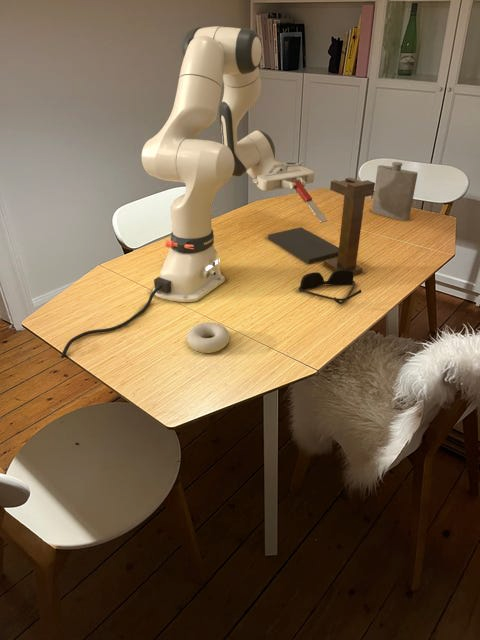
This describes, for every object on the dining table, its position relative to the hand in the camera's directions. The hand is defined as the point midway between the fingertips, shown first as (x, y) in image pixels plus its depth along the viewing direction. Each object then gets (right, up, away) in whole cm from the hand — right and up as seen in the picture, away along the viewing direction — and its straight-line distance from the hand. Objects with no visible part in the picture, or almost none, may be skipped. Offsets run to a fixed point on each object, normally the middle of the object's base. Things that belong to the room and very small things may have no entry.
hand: (298, 185), depth 151 cm
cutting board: (+3, -19, +6) cm, 20 cm away
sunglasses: (+7, -37, -23) cm, 44 cm away
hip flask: (+39, -3, +31) cm, 50 cm away
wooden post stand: (+12, -28, -8) cm, 32 cm away
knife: (+3, -6, -3) cm, 7 cm away
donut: (-26, -49, -41) cm, 69 cm away
